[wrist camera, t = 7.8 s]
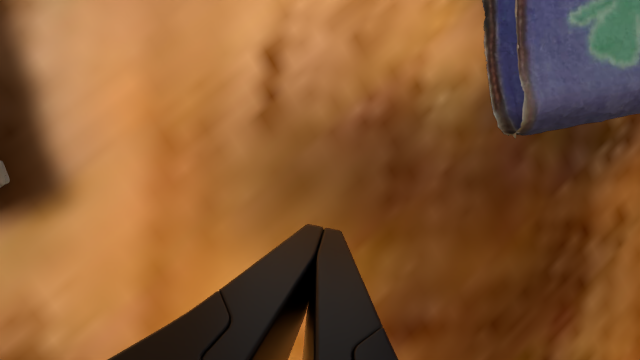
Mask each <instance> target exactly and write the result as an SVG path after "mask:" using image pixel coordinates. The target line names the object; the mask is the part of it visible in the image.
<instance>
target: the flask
mask: <svg viewBox="0 0 640 360" xmlns="http://www.w3.org/2000/svg"><path fill="white" fill-rule="evenodd" d="M482 2H483V7H484V11H485V16H486V18H485V21H484V31H485V36H484V48H485V56H486V61H487V64H486V65H487V72H488V80H489V89H490V97H491V103H492V107H493V114H494V116H495V118H496V119H497V123H498V128H500V129H501V130H502V132H503V134H506V135H508V136H509V135H513V136H514V137H515V138H516V134H517V135H531V134H536V133H542V132H545V131H551V130H557V129H563V128H568V127H572V126H576V125H580V124H585V123H593V122H602V121H604V120H608V119H613V118H617V117H623V116H627V115H632V114H639V113H640V0H482Z"/></svg>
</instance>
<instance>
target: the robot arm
mask: <svg viewBox="0 0 640 360" xmlns="http://www.w3.org/2000/svg"><path fill="white" fill-rule="evenodd" d="M307 307H308V309H307ZM306 310H307V316H306V326H305V337H304V349H303V360H398V358H397V356H396V354H395V352H394V350H393V347H392V345H391V343H390V341H389V339H388V336H387V334H386V332H385V330H384V328H383V326H382V324H381V321H380V319H379V317H378V314H377V312H376V310H375V308H374V305H373V303H372V301H371V298H370V296H369V294H368V291H367V289H366V287H365V284H364V282H363V280H362V278H361V275H360V273H359V271H358V268H357V266H356V264H355V261H354V259H353V257H352V254H351V252H350V250H349V248H348V245H347V243H346V241H345V238H344V236H343V234H342V232H341V231H339V230H335V229H330V228H325V229H323V228H322V227H320V226H315V225H311V224H307V225H305V226H304V227H303V228H301V229H300V230H299V231H297V232H296V233H295V234H293V235H292V236H291V237H289V238H288V239H287V240H285V241H284V242H283V243H281V244H280V245H279V246H277V247H276V248H275V249H273V250H272V251H271V252H269V253H268V254H267V255H265V256H264V257H263V258H261V259H260V260H259V261H257V262H256V263H255V264H253V265H252V266H251V267H249V268H248V269H247V270H245V271H244V272H243V273H241V274H240V275H239V276H237V277H236V278H235V279H233V280H232V281H231V282H229V283H228V284H227V285H225V286H224V287H223V288H221V289H220V290H219V291H217V292H215V293H214V294H213V295H211V296H210V297H209V298H207V299H206V300H204V301H203V302H202V303H200V304H199V305H197V306H196V307H194V308H193V309H192V310H190V311H189V312H187V313H186V314H184V315H182V316H181V317H179V318H178V319H176V320H174V321H173V322H171V323H170V324H168V325H166V326H165V327H163V328H161V329H159V330H158V331H156V332H154V333H153V334H151V335H149V336H147V337H146V338H144V339H142V340H141V341H139V342H137V343H135V344H134V345H132V346H130V347H129V348H127V349H125V350H123V351H122V352H120V353H118V354H117V355H115V356H113V357H111V358H110V359H108V360H288V358H289V355H290V353H291V350H292V347H293V345H294V342H295V340H296V337H297V335H298V332H299V330H300V327H301V324H302V322H303V319H304V316H305V313H306Z"/></svg>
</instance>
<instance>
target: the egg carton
mask: <svg viewBox="0 0 640 360" xmlns="http://www.w3.org/2000/svg"><path fill="white" fill-rule="evenodd" d="M9 182H10V179H9V176H8V173H7V171H6V168H5V166H4V163H3V161H0V188H1V187H2V186H4V185H5V184H8V183H9Z"/></svg>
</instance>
